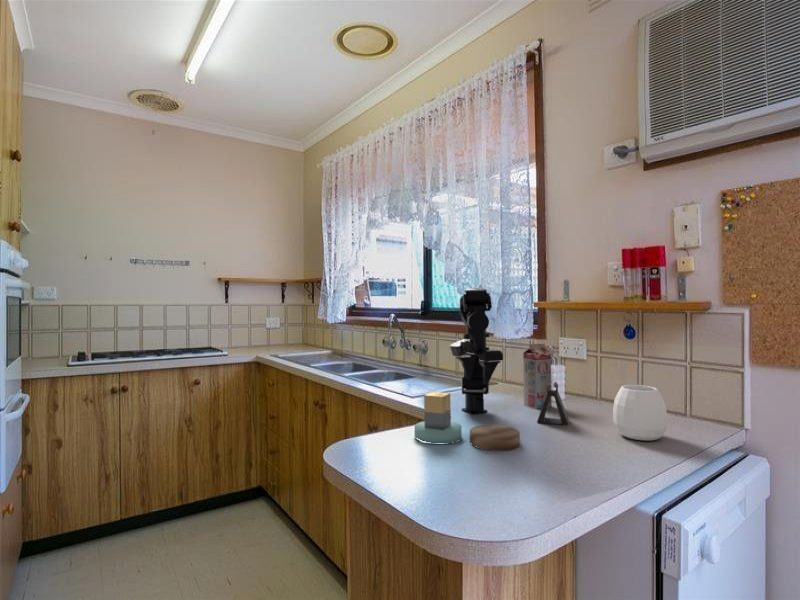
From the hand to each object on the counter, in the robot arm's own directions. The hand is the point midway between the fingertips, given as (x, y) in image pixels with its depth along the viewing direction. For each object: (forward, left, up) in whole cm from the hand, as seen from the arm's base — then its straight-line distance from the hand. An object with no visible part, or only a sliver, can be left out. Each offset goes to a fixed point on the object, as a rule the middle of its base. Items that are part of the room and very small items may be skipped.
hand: (477, 381), depth 137 cm
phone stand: (+8, +22, -13) cm, 27 cm away
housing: (+5, -17, -10) cm, 20 cm away
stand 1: (+5, -17, -13) cm, 22 cm away
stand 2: (+16, -6, -13) cm, 21 cm away
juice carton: (-10, +32, -13) cm, 36 cm away
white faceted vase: (+30, +32, -13) cm, 46 cm away
